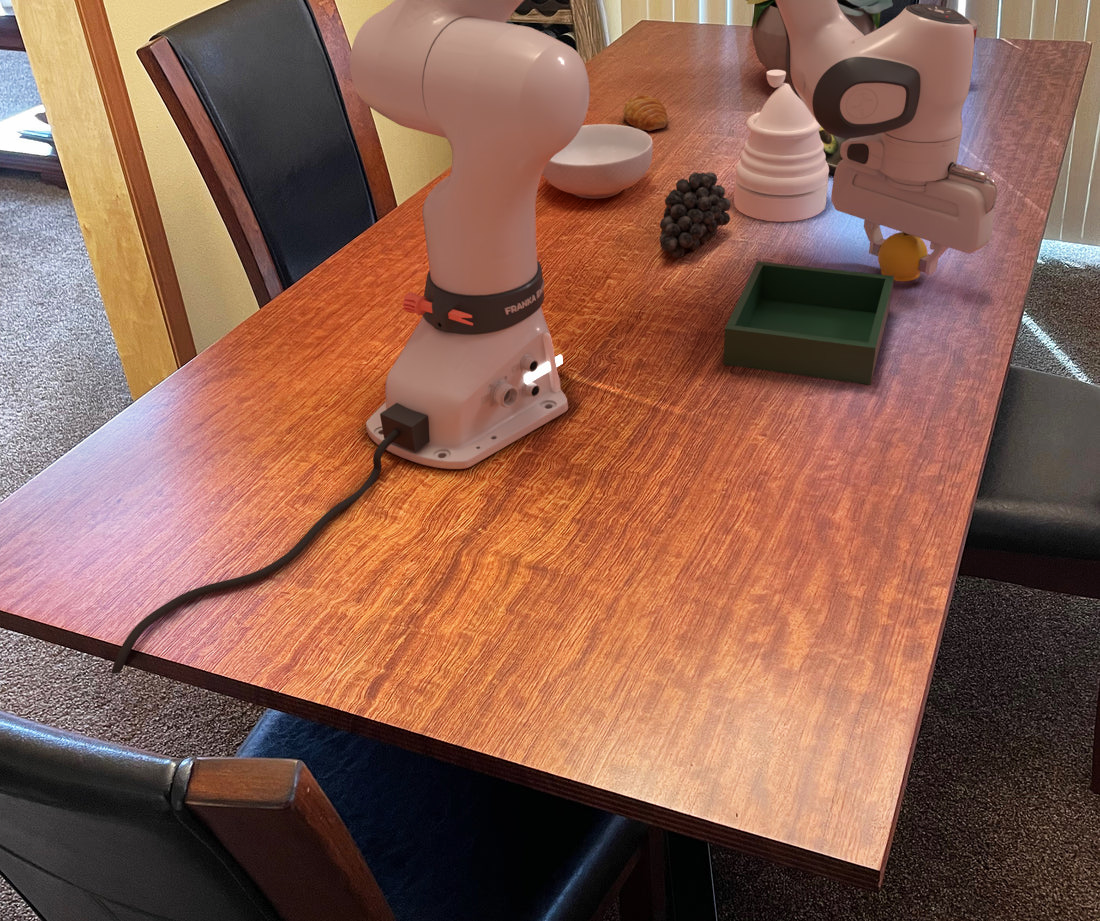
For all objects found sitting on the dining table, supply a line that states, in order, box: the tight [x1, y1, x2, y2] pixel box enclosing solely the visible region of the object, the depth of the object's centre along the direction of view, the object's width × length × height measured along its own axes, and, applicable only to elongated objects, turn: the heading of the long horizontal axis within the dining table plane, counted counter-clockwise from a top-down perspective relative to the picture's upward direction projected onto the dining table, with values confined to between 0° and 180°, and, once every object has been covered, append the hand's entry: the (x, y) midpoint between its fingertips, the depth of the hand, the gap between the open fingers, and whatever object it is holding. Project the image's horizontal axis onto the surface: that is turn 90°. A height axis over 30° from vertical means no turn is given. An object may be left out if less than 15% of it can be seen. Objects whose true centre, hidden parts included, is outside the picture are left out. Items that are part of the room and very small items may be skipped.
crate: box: [722, 260, 895, 386], centre depth 125 cm, size 17×16×5 cm
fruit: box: [659, 172, 732, 259], centre depth 146 cm, size 9×8×15 cm
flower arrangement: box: [745, 0, 894, 84], centre depth 191 cm, size 25×25×24 cm
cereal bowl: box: [542, 123, 654, 200], centre depth 163 cm, size 17×17×7 cm
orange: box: [877, 231, 929, 282], centre depth 136 cm, size 6×6×7 cm
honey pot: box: [733, 70, 830, 223], centre depth 153 cm, size 13×13×18 cm
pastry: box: [622, 94, 669, 132], centre depth 186 cm, size 9×7×4 cm
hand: (901, 262), depth 136 cm, fingers closed on orange, 6 cm apart
